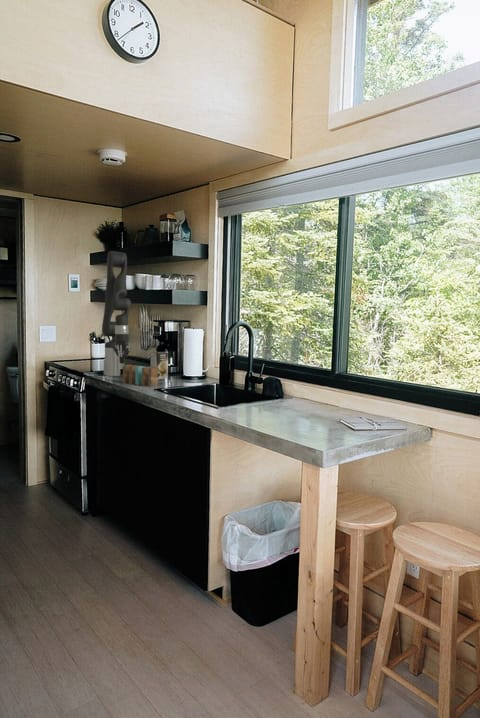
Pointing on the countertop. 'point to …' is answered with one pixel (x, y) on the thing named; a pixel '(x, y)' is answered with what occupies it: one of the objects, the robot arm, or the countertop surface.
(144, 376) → the domino
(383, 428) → the countertop surface
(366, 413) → the countertop surface
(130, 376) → the domino
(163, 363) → the coffee box
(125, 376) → the domino
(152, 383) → the domino
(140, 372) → the domino
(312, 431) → the countertop surface
